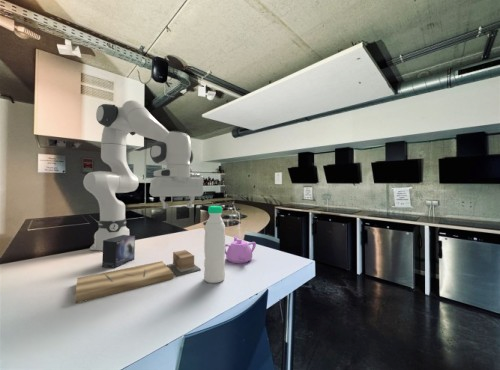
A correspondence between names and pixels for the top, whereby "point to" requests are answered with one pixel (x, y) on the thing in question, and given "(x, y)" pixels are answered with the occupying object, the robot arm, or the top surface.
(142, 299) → the top surface
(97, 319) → the top surface
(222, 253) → the water bottle
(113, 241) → the small box
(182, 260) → the block
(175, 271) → the rubber mat
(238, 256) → the teapot
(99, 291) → the oak board
